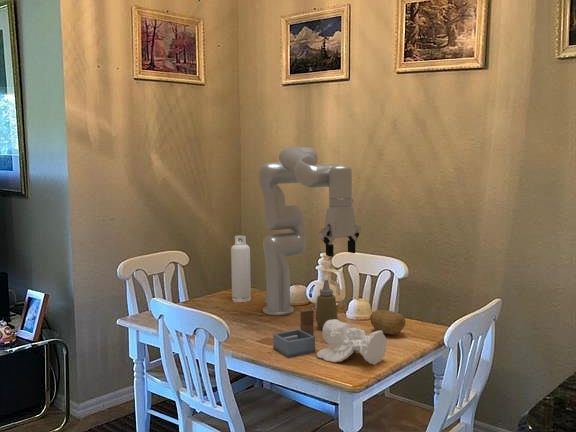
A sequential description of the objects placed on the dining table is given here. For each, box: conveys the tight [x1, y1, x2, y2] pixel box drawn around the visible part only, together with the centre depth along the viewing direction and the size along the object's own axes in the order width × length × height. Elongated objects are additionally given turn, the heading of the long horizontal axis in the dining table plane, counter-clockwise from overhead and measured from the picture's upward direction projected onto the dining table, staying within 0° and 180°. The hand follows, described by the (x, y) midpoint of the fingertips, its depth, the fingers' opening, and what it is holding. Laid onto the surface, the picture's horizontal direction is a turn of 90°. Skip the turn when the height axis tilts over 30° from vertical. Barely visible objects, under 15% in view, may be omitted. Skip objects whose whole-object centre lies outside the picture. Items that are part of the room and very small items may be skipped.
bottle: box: [230, 235, 252, 303], centre depth 260 cm, size 8×8×28 cm
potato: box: [369, 309, 406, 335], centre depth 214 cm, size 10×14×8 cm
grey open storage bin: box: [272, 328, 316, 359], centre depth 197 cm, size 10×10×5 cm
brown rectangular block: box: [300, 308, 315, 337], centre depth 209 cm, size 2×4×10 cm, turn 120°
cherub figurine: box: [316, 318, 388, 366], centre depth 189 cm, size 13×12×20 cm
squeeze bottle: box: [315, 279, 339, 330], centre depth 219 cm, size 8×8×18 cm
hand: (340, 254), depth 201 cm, fingers open, 9 cm apart
